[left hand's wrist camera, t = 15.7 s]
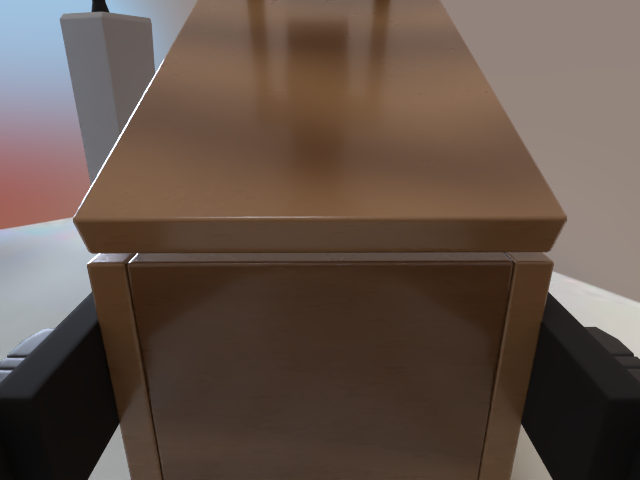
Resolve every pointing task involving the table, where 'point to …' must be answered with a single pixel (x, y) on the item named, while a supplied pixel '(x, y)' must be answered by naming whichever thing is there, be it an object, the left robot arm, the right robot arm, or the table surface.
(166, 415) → the chest
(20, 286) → the table surface
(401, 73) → the lid
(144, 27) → the vintage mobile phone
